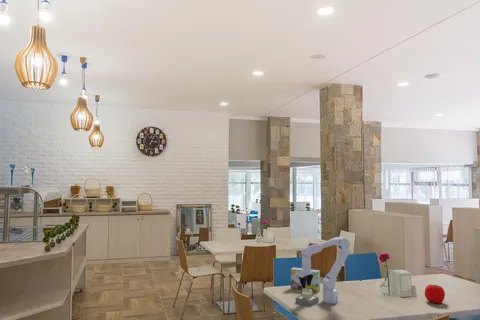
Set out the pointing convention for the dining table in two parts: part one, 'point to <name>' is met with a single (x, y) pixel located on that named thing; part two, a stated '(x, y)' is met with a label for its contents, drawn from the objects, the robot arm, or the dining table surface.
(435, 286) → the tomato
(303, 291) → the green banded cube
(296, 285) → the snack box
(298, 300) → the gray square tray
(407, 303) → the dining table surface
